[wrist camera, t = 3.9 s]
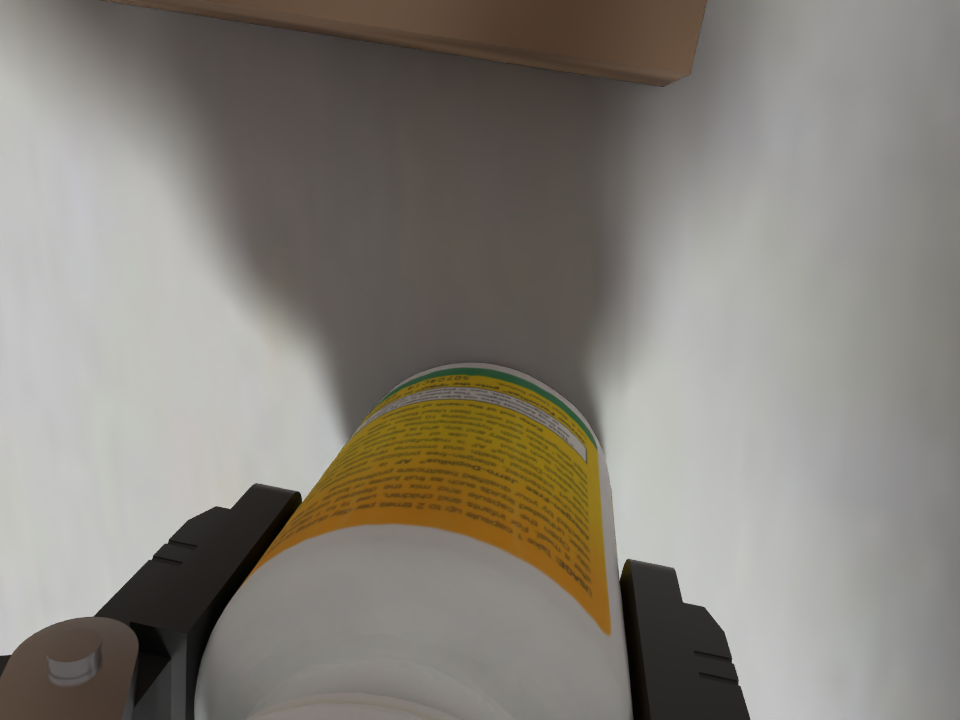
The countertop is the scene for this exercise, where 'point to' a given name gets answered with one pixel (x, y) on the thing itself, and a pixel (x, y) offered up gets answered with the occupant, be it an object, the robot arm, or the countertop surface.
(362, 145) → the countertop surface
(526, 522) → the supplement bottle
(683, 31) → the tray
